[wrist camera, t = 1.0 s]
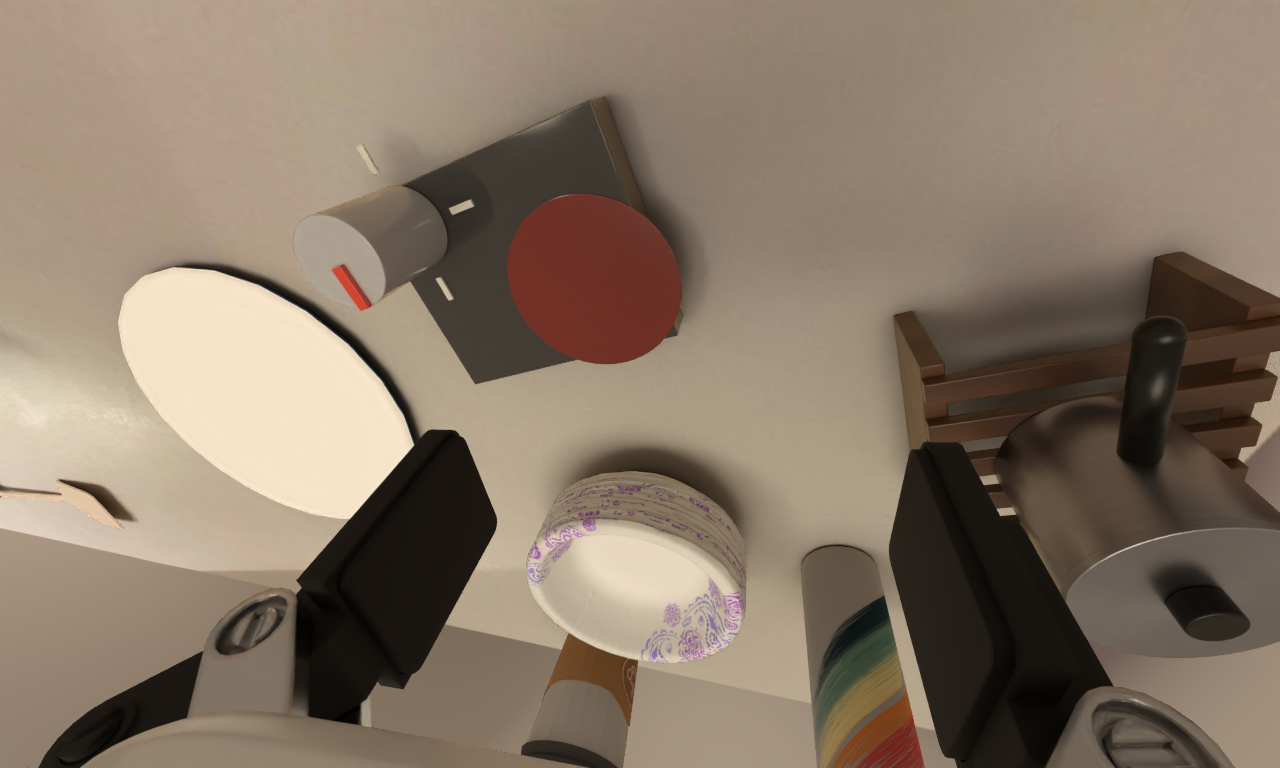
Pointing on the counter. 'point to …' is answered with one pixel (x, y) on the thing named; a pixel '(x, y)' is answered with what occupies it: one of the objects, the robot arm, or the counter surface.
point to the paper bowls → (641, 568)
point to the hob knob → (370, 245)
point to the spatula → (73, 502)
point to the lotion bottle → (854, 666)
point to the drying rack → (1115, 370)
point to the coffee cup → (585, 708)
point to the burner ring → (594, 278)
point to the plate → (263, 389)
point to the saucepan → (1145, 517)
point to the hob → (511, 230)
